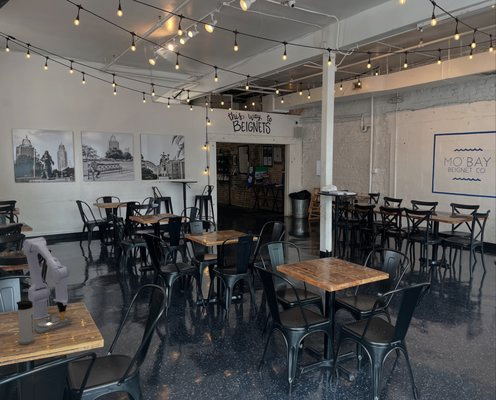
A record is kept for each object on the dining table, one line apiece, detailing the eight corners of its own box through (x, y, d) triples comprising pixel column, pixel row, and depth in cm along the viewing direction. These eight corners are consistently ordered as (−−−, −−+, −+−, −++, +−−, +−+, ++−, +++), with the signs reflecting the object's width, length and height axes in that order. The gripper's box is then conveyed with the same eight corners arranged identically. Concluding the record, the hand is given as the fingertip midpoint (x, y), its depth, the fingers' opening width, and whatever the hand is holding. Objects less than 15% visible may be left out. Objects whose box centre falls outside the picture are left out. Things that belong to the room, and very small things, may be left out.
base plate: (26, 326, 205) (26, 320, 205) (58, 317, 217) (57, 312, 217) (39, 334, 195) (39, 328, 194) (71, 324, 207) (71, 319, 207)
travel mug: (16, 342, 186) (14, 301, 184) (31, 338, 191) (29, 297, 189) (21, 346, 182) (19, 304, 180) (36, 341, 186) (34, 300, 185)
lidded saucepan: (35, 328, 199) (34, 318, 198) (39, 320, 209) (38, 311, 209) (65, 324, 203) (65, 314, 203) (68, 317, 214) (67, 307, 213)
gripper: (49, 288, 212) (51, 313, 213) (56, 294, 201) (57, 320, 202) (63, 286, 216) (64, 310, 217) (71, 292, 205) (72, 317, 206)
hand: (62, 315), depth 210 cm, fingers closed
